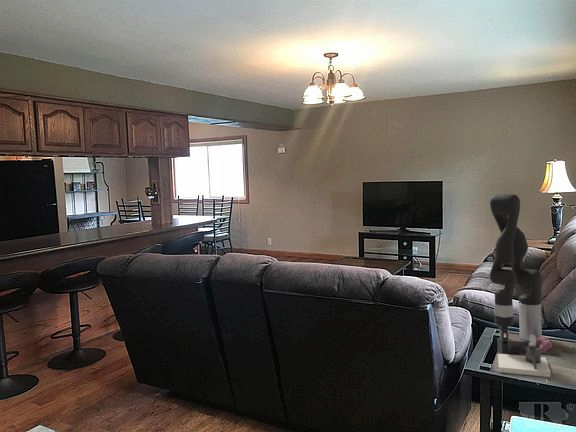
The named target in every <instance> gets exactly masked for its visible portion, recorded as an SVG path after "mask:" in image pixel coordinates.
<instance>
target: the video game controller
mask: <svg viewBox="0 0 576 432" xmlns="http://www.w3.org/2000/svg"><path fill="white" fill-rule="evenodd" d="M538 346H539V347H538ZM552 346H553V345H552V342H551V340H550V338H549V337H547V336H544V335H541V337H539V338H538V339H536V347H538V348H539V349H541V354H544V353H546V352H547V351H550V349H552Z"/></svg>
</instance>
